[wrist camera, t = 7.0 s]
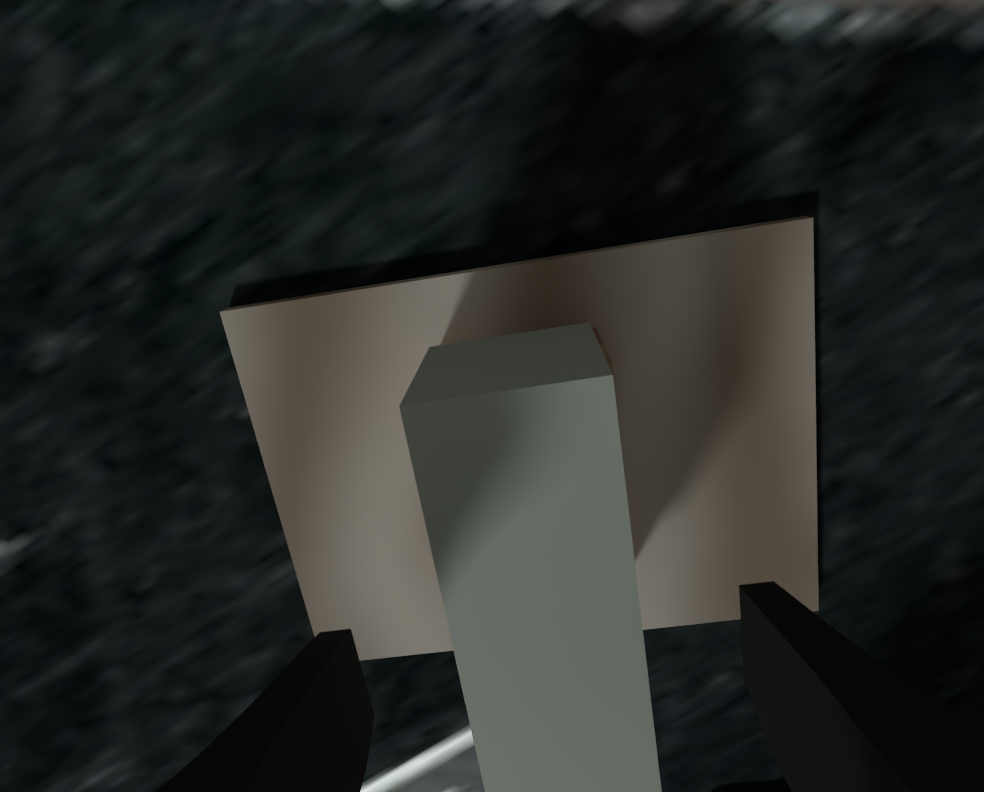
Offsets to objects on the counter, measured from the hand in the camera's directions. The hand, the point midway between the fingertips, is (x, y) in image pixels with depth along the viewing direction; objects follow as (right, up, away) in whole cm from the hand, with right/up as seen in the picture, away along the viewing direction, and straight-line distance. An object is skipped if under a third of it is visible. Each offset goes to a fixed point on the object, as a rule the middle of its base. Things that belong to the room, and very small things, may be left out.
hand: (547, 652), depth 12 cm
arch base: (0, +3, +8) cm, 9 cm away
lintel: (0, +1, +4) cm, 4 cm away
